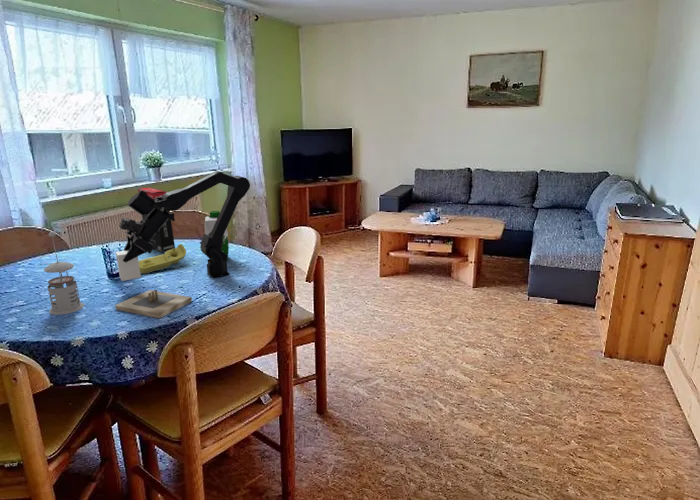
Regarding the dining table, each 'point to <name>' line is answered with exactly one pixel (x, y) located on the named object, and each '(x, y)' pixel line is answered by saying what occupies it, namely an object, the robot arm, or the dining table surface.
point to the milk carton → (209, 226)
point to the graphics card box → (165, 235)
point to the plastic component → (162, 260)
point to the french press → (62, 288)
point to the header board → (153, 303)
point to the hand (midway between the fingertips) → (123, 259)
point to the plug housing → (127, 267)
